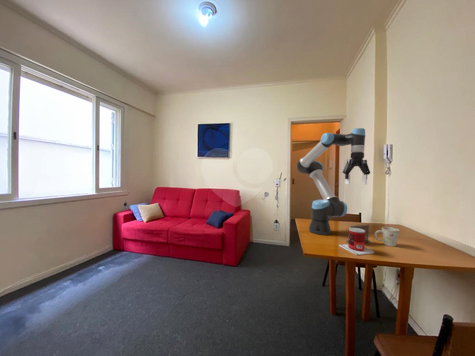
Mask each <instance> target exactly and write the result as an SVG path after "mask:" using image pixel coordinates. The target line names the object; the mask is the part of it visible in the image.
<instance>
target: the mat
mask: <svg viewBox="0 0 475 356" xmlns="http://www.w3.org/2000/svg"><path fill="white" fill-rule="evenodd" d="M338 246H339V247H340V248H342V249H344V250H346V251H348V252H350V253H351V254H354V255H356V256H361V255H362V256H363V255H370V254H375V251H374V250H373V249H370V248H367V247H366V246H365V247H364V250H363V251H355V250H352V249H350V248H349V246H348V243H347V244H339V245H338Z"/></svg>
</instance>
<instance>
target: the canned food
mask: <svg viewBox="0 0 475 356" xmlns="http://www.w3.org/2000/svg"><path fill="white" fill-rule="evenodd" d="M348 240H349V241H348V242H347V244H348V246H349V248H350V249H352V250H355V251H363V250H364V247H365V248H366V246H365V245H366V244H365V243H366V242H365V230H363V229H360V228H348Z"/></svg>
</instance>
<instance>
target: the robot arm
mask: <svg viewBox="0 0 475 356" xmlns="http://www.w3.org/2000/svg"><path fill="white" fill-rule="evenodd" d="M365 141H366V129H365V128H363V127H359V128H358V127H357V128H354V129H352V130H351V133H347V134H343V133H342V134H341V133H332V132H325V133H323V134H322V135H321V137H320V141H319V142H317V144H316V145H314V147H313V148H312V149H311V150H310V151H308V153H306V155H305V156H304V157H301V158H300V159H299V160H298V161H297V163H296V170H297V171H298V172H299V173H300V174H304V175H307V174H308V177H309V178H311V179H312V180H313V182H314V184H315V186H316V188H317V190H318V192H319V193H320V196H321V197H322V199H316V200H313V201H312V204H311V221H310V223H309V226H308V231H309V232H310V233H312V234H315V235H320V236H328V235H331V233H332V229H331V225H330V223H329V222H330V218H340V217H341V218H342V217H344V216H346V214H347V213H348V205H347V203H346V201H345V202H344V201H343V200H340V198H339V197H338V196H336V195H335V194H334V192H333V190H332V188H331V187H330V185H329V183H328V182H327V179H326V178H325V177H324V175H323V173H324V172H323V171H324V166H323V164H322V163H321V162H320V161H316V159H318V158H319V157H320V156H321V155H323V154H324V153H325V152H326V151H327V150H328V149H329V148H331V147H332V146H338V147H344V146H350V158H348V159H346V163H345V164H344V165H345V166H344V167H343V170H342V173H343V174H344V179H345V182H344V183H345V185H350V184H351V174H350V173H351V172H352V170H353V169H354V168H355V167H358V168H359V170H360V171H361V172H362V176H361V184H362V185H368V181H367V180H368V175H370V174H371V171H370V168H369V164H368V159H365V147H366V146H365V144H366V143H365Z"/></svg>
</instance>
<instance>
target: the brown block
mask: <svg viewBox="0 0 475 356" xmlns="http://www.w3.org/2000/svg"><path fill="white" fill-rule="evenodd" d="M349 228H360V229H363V230H365V243H367V244H371V243H372V241H371V240H369V233H370V232H369V231H370V224H355V225H349ZM349 228H348V229H349ZM348 241H349V239H346V240H345V242H346V243H348Z"/></svg>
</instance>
